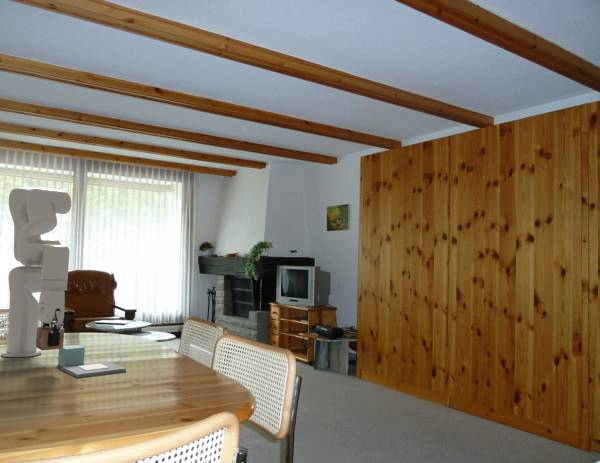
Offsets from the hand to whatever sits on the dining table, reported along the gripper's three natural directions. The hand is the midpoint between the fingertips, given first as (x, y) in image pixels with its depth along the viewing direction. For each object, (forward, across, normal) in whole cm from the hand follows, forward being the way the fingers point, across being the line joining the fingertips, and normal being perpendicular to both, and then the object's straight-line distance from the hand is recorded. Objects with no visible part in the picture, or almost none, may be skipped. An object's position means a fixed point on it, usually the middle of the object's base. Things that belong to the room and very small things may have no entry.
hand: (49, 343), depth 158 cm
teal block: (+9, -7, +9) cm, 15 cm away
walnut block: (+1, 0, 0) cm, 1 cm away
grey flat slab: (+9, +5, +12) cm, 16 cm away
